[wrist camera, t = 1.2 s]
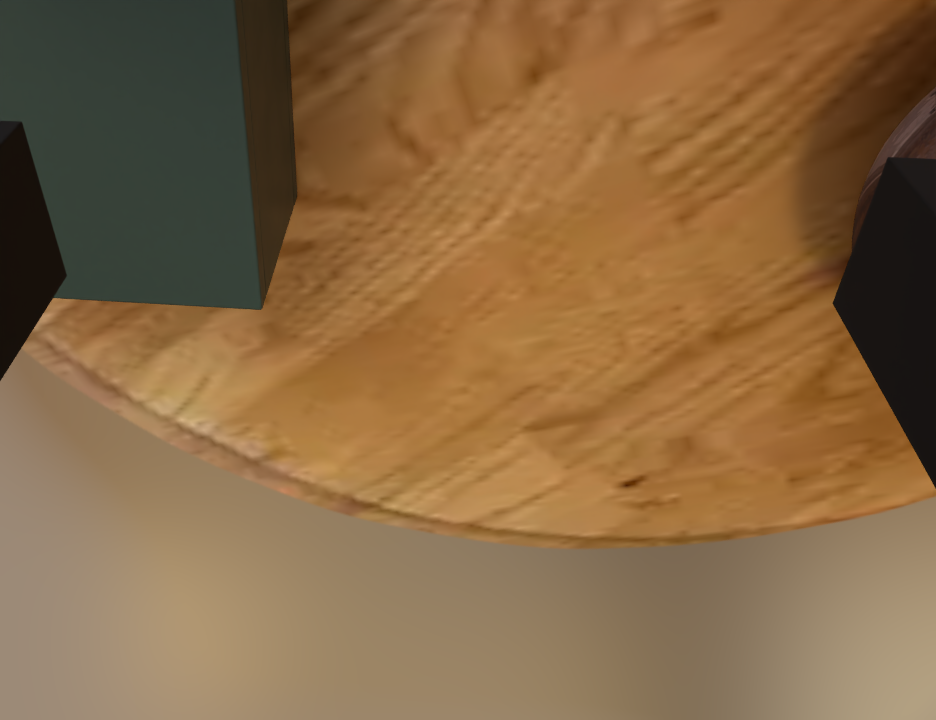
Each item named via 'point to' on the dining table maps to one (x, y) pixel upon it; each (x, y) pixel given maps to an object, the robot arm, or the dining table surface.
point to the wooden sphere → (901, 150)
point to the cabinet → (157, 142)
